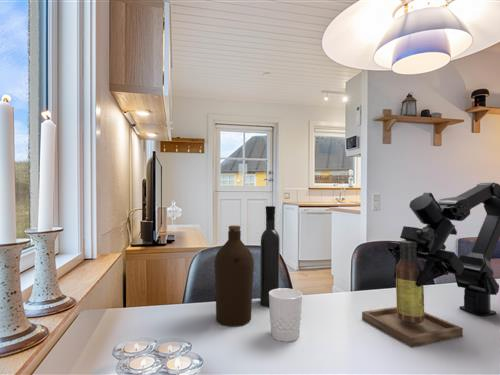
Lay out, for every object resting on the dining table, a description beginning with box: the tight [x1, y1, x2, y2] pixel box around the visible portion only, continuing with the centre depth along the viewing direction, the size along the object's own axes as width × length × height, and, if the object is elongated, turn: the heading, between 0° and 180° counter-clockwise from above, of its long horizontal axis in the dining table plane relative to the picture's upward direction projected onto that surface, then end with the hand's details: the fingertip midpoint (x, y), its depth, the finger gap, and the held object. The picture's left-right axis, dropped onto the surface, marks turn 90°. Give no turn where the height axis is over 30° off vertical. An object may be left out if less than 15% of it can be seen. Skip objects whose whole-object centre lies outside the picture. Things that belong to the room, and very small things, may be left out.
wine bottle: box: [259, 205, 281, 307], centre depth 94 cm, size 6×6×30 cm
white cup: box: [268, 287, 303, 343], centre depth 72 cm, size 8×8×10 cm
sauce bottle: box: [395, 239, 425, 324], centre depth 77 cm, size 7×6×20 cm
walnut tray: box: [361, 306, 464, 348], centre depth 77 cm, size 16×16×2 cm
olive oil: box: [213, 225, 255, 327], centre depth 82 cm, size 11×11×25 cm
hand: (405, 282), depth 77 cm, fingers closed on sauce bottle, 6 cm apart
